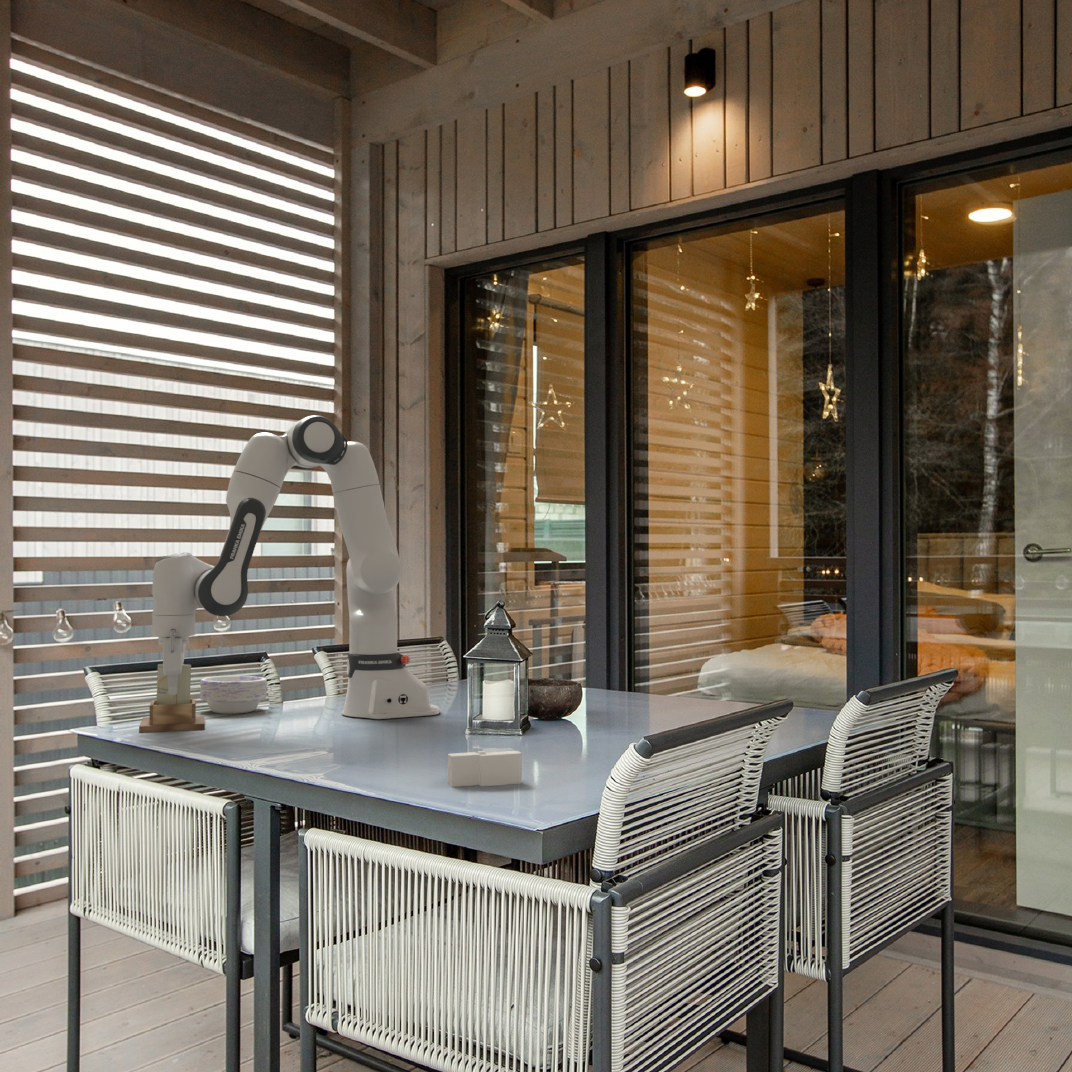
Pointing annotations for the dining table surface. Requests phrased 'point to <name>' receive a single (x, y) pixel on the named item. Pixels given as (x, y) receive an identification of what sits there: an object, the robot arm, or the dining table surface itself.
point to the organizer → (172, 718)
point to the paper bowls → (233, 693)
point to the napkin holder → (484, 768)
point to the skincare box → (182, 687)
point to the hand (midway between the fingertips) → (173, 691)
